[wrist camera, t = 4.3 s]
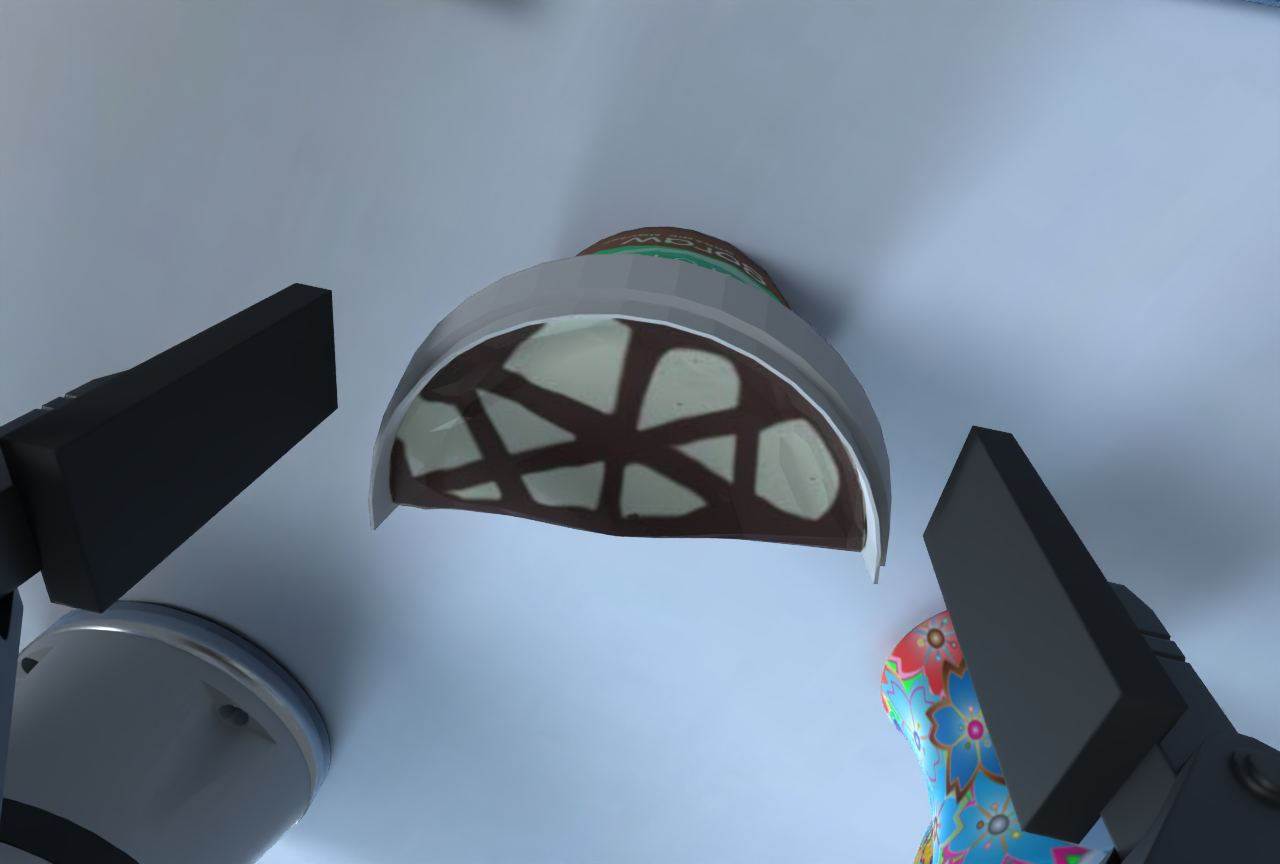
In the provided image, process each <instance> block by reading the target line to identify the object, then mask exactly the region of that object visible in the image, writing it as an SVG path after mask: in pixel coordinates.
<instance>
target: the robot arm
mask: <svg viewBox="0 0 1280 864" xmlns="http://www.w3.org/2000/svg"><path fill="white" fill-rule="evenodd" d="M337 408H338V404H337V384H336V365H335V345H334V326H333V306H332V290H327V289H323V288H318V287H313V286H308V285H304V284H299V283H295V284H293V285H291V286H289V287H287V288H285V289H283V290H281V291H279V292H277V293H275V294H274V295H272V296H270V297H268V298H266V299H264V300H262V301H260V302H258V303H256V304H254V305H252V306H251V307H249V308H247V309H245V310H243V311H241V312H239V313H237V314H235V315H233V316H231V317H229V318H228V319H226V320H224V321H222V322H220V323H218V324H216V325H214V326H212V327H210V328H208V329H206V330H205V331H203V332H201V333H199V334H197V335H195V336H193V337H191V338H189V339H187V340H185V341H183V342H182V343H180V344H178V345H176V346H174V347H172V348H170V349H168V350H166V351H164V352H162V353H160V354H158V355H157V356H155V357H153V358H151V359H149V360H147V361H145V362H143V363H141V364H139V365H137V366H135V367H134V368H132V369H130V370H126V371H123V372H119V373H116V374H112V375H108V376H105V377H101V378H97V379H94V380H92V381H90V382H88V383H86V384H84V385H82V386H80V387H78V388H76V389H74V390H72V391H70V392H68V393H66V394H65V397H64V398H63V397H58V398H56V399H54V400H52V401H50V402H48V403H46V404H44V405H42V409H41V410H40V409H34V410H33V411H31V412H29V413H27V414H25V415H23V416H21V417H19V418H17V419H15V420H13V421H11V422H9V423H7V424H5V425H3V426H1V427H0V864H254V863H256V862H257V861H258V860H259V859H260V858H261V857H262V856H263V855H264V854H265V853H266V852H267V851H268V850H269V849H270V848H271V847H272V846H273V845H274V844H275V843H276V842H277V841H279V840H280V839H281V838H282V837H283V836H284V835H285V834H286V833H287V832H288V831H289V830H290V829H291V828H292V827H293V826H294V825H295V824H296V823H297V822H299V821H300V819H301V818H302V817H303V816H304V814H305V813H306V811H307V809H308V807H309V806H310V804H311V802H312V801H313V799H314V797H315V795H316V794H317V792H318V790H319V788H320V787H321V785H322V783H323V781H324V779H325V778H326V776H327V773H328V770H329V766H330V759H331V750H330V743H329V738H328V734H327V731H326V728H325V726H324V723H323V721H322V718H321V717H320V715H319V713H318V711H317V709H316V708H315V706H314V704H313V703H312V701H311V700H310V698H309V697H308V696H307V694H306V693H305V692H304V691H303V689H302V688H301V687H300V686H299V685H298V684H297V683H296V681H295V680H294V679H293V678H292V677H291V676H290V675H289V674H288V673H287V672H286V671H285V670H284V669H283V668H281V667H280V666H279V665H278V664H277V663H276V662H275V661H273V660H272V659H271V658H270V657H268V656H267V655H266V654H265V653H263V652H262V651H260V650H259V649H258V648H256V647H255V646H253V645H252V644H250V643H249V642H247V641H246V640H244V639H242V638H241V637H239V636H237V635H235V634H234V633H232V632H230V631H228V630H226V629H224V628H222V627H220V626H218V625H216V624H214V623H212V622H209V621H207V620H205V619H202V618H200V617H197V616H195V615H192V614H189V613H186V612H183V611H180V610H176V609H172V608H168V607H164V606H160V605H154V604H149V603H141V602H131V601H117V600H118V599H119V598H120V597H122V596H123V595H124V594H125V593H126V592H127V591H129V590H130V589H131V588H132V587H133V586H134V585H135V584H137V583H138V582H139V581H140V580H141V579H142V578H143V577H145V576H146V575H147V574H148V573H149V572H150V571H151V570H153V569H154V568H155V567H156V566H157V565H158V564H160V563H161V562H162V561H163V560H164V559H165V558H166V557H168V556H169V555H170V554H171V553H172V552H173V551H174V550H176V549H177V548H178V547H179V546H180V545H181V544H182V543H184V542H185V541H186V540H187V539H188V538H189V537H190V536H192V535H193V534H194V533H195V532H196V531H197V530H199V529H200V528H201V527H202V526H203V525H204V524H205V523H207V522H208V521H209V520H210V519H211V518H212V517H213V516H215V515H216V514H217V513H218V512H219V511H220V510H221V509H223V508H224V507H225V506H226V505H227V504H228V503H229V502H231V501H232V500H233V499H234V498H235V497H236V496H238V495H239V494H240V493H241V492H242V491H243V490H244V489H246V488H247V487H248V486H249V485H250V484H251V483H252V482H254V481H255V480H256V479H257V478H258V477H259V476H260V475H262V474H263V473H264V472H265V471H266V470H267V469H268V468H270V467H271V466H272V465H273V464H274V463H275V462H277V461H278V460H279V459H280V458H281V457H282V456H283V455H285V454H286V453H287V452H288V451H289V450H290V449H291V448H293V447H294V446H295V445H296V444H297V443H298V442H299V441H301V440H302V439H303V438H304V437H305V436H306V435H308V434H309V433H310V432H311V431H312V430H313V429H314V428H316V427H317V426H318V425H319V424H320V423H321V422H322V421H324V420H325V419H326V418H327V417H328V416H329V415H330V414H332V413H333V412H334V411H335V410H336V409H337ZM923 538H924V541H925V544H926V547H927V550H928V553H929V556H930V559H931V562H932V565H933V568H934V571H935V574H936V577H937V580H938V583H939V586H940V589H941V592H942V595H943V598H944V601H945V604H946V607H947V610H948V613H949V616H950V619H951V622H952V625H953V628H954V631H955V634H956V637H957V640H958V643H959V646H960V649H961V652H962V655H963V658H964V661H965V664H966V667H967V670H968V673H969V676H970V679H971V682H972V685H973V688H974V691H975V694H976V697H977V700H978V703H979V706H980V709H981V712H982V715H983V718H984V721H985V724H986V727H987V730H988V733H989V736H990V738H991V741H992V744H993V747H994V750H995V753H996V756H997V759H998V762H999V765H1000V768H1001V771H1002V774H1003V777H1004V780H1005V783H1006V786H1007V789H1008V792H1009V795H1010V798H1011V801H1012V804H1013V807H1014V810H1015V813H1016V816H1017V819H1018V822H1019V825H1020V828H1021V831H1023V832H1027V833H1032V834H1036V835H1040V836H1044V837H1049V838H1053V839H1057V840H1061V841H1066V842H1070V843H1074V844H1078V845H1079V844H1080V842H1081V841H1082V840H1083V839H1084V837H1085V836H1086V835H1087V834H1088V832H1089V831H1090V830H1091V829H1092V827H1093V826H1094V825H1095V824H1096V822H1097V821H1098V820H1099V819H1100V817H1101V818H1102V820H1103V822H1104V824H1105V827H1106V829H1107V831H1108V833H1109V836H1110V838H1111V840H1112V842H1113V845H1114V847H1113V848H1112V849H1111V850H1110V851H1109V853H1108V854H1107V855H1106V856H1105V857H1104V858H1103V860H1102V861H1101V862H1100V863H1099V864H1280V752H1279V751H1278V750H1276V749H1274V748H1272V747H1270V746H1268V745H1266V744H1264V743H1262V742H1260V741H1258V740H1257V739H1255V738H1252V737H1248V736H1245V735H1242V734H1238V732H1237V731H1236V730H1235V728H1234V727H1233V725H1232V724H1231V722H1230V721H1229V720H1228V718H1227V717H1226V715H1225V714H1224V712H1223V711H1222V709H1221V708H1220V707H1219V705H1218V704H1217V702H1216V701H1215V699H1214V698H1213V697H1212V695H1211V694H1210V692H1209V691H1208V689H1207V688H1206V686H1205V685H1204V684H1203V682H1202V681H1201V679H1200V678H1199V676H1198V675H1197V673H1196V672H1195V671H1194V669H1193V668H1192V666H1191V665H1190V663H1186V662H1185V656H1184V655H1183V653H1182V652H1181V650H1180V649H1179V648H1178V646H1177V645H1176V643H1175V642H1174V641H1170V637H1171V636H1170V635H1169V633H1168V632H1167V630H1166V629H1165V627H1164V626H1163V625H1162V623H1161V622H1160V620H1159V619H1158V617H1157V616H1156V614H1155V613H1154V612H1153V610H1152V609H1150V608H1149V607H1148V606H1147V605H1146V604H1145V603H1144V602H1143V601H1141V600H1140V599H1139V598H1138V597H1137V596H1136V595H1135V594H1133V593H1132V592H1131V591H1130V590H1129V589H1128V588H1127V587H1125V586H1124V585H1120V584H1116V583H1111V582H1108V581H1107V580H1106V578H1105V577H1104V575H1103V573H1102V572H1101V570H1100V569H1099V567H1098V566H1097V564H1096V563H1095V561H1094V560H1093V558H1092V556H1091V555H1090V553H1089V552H1088V550H1087V549H1086V547H1085V546H1084V544H1083V543H1082V541H1081V540H1080V538H1079V536H1078V535H1077V533H1076V532H1075V530H1074V529H1073V527H1072V526H1071V524H1070V523H1069V521H1068V520H1067V518H1066V516H1065V515H1064V513H1063V512H1062V510H1061V509H1060V507H1059V506H1058V504H1057V503H1056V501H1055V499H1054V498H1053V496H1052V495H1051V493H1050V492H1049V490H1048V489H1047V487H1046V486H1045V484H1044V483H1043V481H1042V479H1041V478H1040V476H1039V475H1038V473H1037V472H1036V470H1035V469H1034V467H1033V466H1032V464H1031V462H1030V461H1029V459H1028V458H1027V456H1026V455H1025V453H1024V452H1023V450H1022V449H1021V447H1020V446H1019V444H1018V442H1017V441H1016V439H1015V438H1014V436H1013V435H1012V434H1011V433H1006V432H1002V431H997V430H992V429H987V428H983V427H978V426H972V428H971V430H970V433H969V435H968V437H967V439H966V441H965V444H964V446H963V448H962V450H961V452H960V455H959V457H958V459H957V461H956V464H955V466H954V468H953V470H952V472H951V475H950V477H949V479H948V481H947V483H946V486H945V488H944V490H943V492H942V494H941V497H940V499H939V501H938V503H937V506H936V508H935V510H934V512H933V514H932V517H931V519H930V521H929V523H928V525H927V528H926V530H925V532H924V534H923ZM40 570H41V573H42V576H43V579H44V582H45V585H46V589H47V592H48V595H49V598H50V601H51V602H52V603H56V604H60V605H65V606H69V607H73V608H77V609H76V610H73V611H71V612H69V613H68V614H66V615H64V616H63V617H61V618H60V619H59V620H58V621H57V622H55V623H54V624H53V625H52V626H51V627H49V628H48V629H47V630H46V631H45V632H43V633H42V634H41V635H40V636H39V637H37V638H36V639H35V640H34V641H33V642H31V643H30V644H29V645H28V646H27V647H26V648H24V649H23V650H22V652H21V653H20V654H19V655H18V653H19V644H20V635H21V626H22V617H23V604H22V600H21V597H20V594H19V591H18V588H17V587H19V586H20V585H21V584H23V583H24V582H25V581H27V580H28V579H30V578H31V577H32V576H34V575H35V574H36V573H38V572H39V571H40Z"/></svg>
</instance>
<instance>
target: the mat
mask: <svg viewBox="0 0 1280 864" xmlns="http://www.w3.org/2000/svg"><path fill="white" fill-rule="evenodd" d="M1245 1H1250V2H1256V3H1261V4H1267V5H1272V6H1278V7H1280V0H1245Z"/></svg>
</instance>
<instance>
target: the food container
mask: <svg viewBox="0 0 1280 864" xmlns="http://www.w3.org/2000/svg"><path fill="white" fill-rule="evenodd" d="M368 502H369V513H370V525H371V530H375V529H376V528H377V527H378V526H379V525H380V524H381V523H382V522H383V521H384V520H385V519H386V518H387V517H388V516H389V515H390V514H391V513H392V511H393V510H394V509H395V508H396V507H397V506H398V505H402V506H412V507H417V508H421V509H456V510H467V511H476V512H484V513H493V514H501V515H509V516H514V517H520V518H526V519H531V520H535V521H540V522H545V523H549V524H554V525H559V526H564V527H568V528H573V529H578V530H584V531H590V532H595V533H601V534H606V535H612V536H621V537H647V538H723V539H742V540H751V541H761V542H771V543H781V544H791V545H801V546H811V547H820V548H829V549H837V550H846V551H855V552H861V554H862V556H863V559H864V561H865V563H866V566H867V568H868V571H869V573H870V576H871V578H872V581H873V583H874V584H878V576H879V568H880V566H885V562H886V554H887V547H888V540H889V530H890V513H891V483H890V466H889V458H888V454H887V450H886V447H885V443H884V439H883V435H882V431H881V427H880V424H879V421H878V419H877V417H876V415H875V413H874V411H873V409H872V406H871V404H870V402H869V400H868V398H867V396H866V394H865V391H864V389H863V387H862V386H861V384H860V383H859V382H858V380H857V379H856V377H855V376H854V375H853V373H852V372H851V370H850V369H849V368H848V366H847V365H846V363H845V362H844V360H843V359H842V358H841V356H840V355H839V353H838V352H837V351H836V350H835V349H834V348H833V347H832V346H831V345H830V344H829V343H828V342H827V341H826V340H825V339H824V338H823V337H822V336H821V335H820V334H819V333H818V332H817V331H816V330H815V329H814V328H813V327H812V326H811V325H809V324H808V323H807V322H806V321H805V320H804V319H802V318H801V317H799V316H798V315H796V314H795V313H794V312H792V310H791V309H790V307H789V306H788V304H787V303H786V301H785V300H784V298H783V297H782V295H781V294H780V292H779V291H778V289H777V288H776V286H775V285H774V283H773V282H772V280H771V279H770V277H769V276H768V274H767V273H766V271H765V270H763V269H762V268H761V267H759V266H758V265H757V264H755V263H754V262H753V261H751V260H750V259H749V258H748V257H746V256H745V255H744V254H742V253H741V252H740V251H738V250H737V249H736V248H734V247H733V246H732V245H730V244H729V243H727V242H725V241H722V240H719V239H716V238H714V237H711V236H708V235H705V234H702V233H700V232H697V231H694V230H689V229H682V228H675V227H645V228H639V229H634V230H629V231H624V232H621V233H618V234H616V235H613V236H610V237H608V238H605V239H602V240H600V241H599V242H597V243H595V244H594V245H592V246H590V247H589V248H587V249H585V250H583V251H582V252H581V253H579V254H578V255H576V256H575V257H573V258H567V259H562V260H556V261H551V262H546V263H542V264H539V265H536V266H534V267H531V268H528V269H525V270H523V271H520V272H517V273H514V274H512V275H509V276H506V277H503V278H502V279H500V280H498V281H496V282H495V283H493V284H491V285H490V286H488V287H486V288H484V289H483V290H481V291H479V292H478V293H476V294H474V295H472V296H471V297H469V298H467V299H466V300H465V301H464V302H463V303H461V304H460V305H459V306H458V307H457V308H456V309H454V310H453V311H452V312H451V313H450V314H449V315H448V316H446V317H445V318H444V319H443V320H442V321H441V322H439V323H438V324H437V326H436V327H435V328H434V329H433V331H432V332H431V333H430V334H429V336H428V337H427V338H426V339H425V341H424V342H423V343H422V344H421V346H420V347H419V348H418V349H417V351H416V352H415V353H414V355H413V357H412V359H411V361H410V363H409V365H408V367H407V369H406V371H405V373H404V375H403V377H402V378H401V380H400V382H399V384H398V386H397V388H396V391H395V393H394V395H393V397H392V399H391V401H390V403H389V405H388V407H387V409H386V411H385V413H384V416H383V419H382V422H381V426H380V429H379V432H378V436H377V439H376V442H375V445H374V450H373V460H372V470H371V480H370V490H369V500H368Z"/></svg>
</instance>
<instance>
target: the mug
mask: <svg viewBox="0 0 1280 864" xmlns="http://www.w3.org/2000/svg"><path fill="white" fill-rule="evenodd" d="M881 695H882V701H883V704H884V708H885V710H886V712H887V714H888V716H889V718H890V719H891V721H892V723H893V724H894V725H895V727H896V728H897V729H898V730H899V731H900V732H901V733H902V734H903V735H904V736H905V738H906V739H907V740H908V742H909V743H910V745H911V747H912V748H913V750H914V752H915V754H916V756H917V758H918V761H919V763H920V766H921V769H922V772H923V775H924V778H925V781H926V785H927V789H928V794H929V799H930V805H931V812H932V821H931V823H930V825H929V826H928V829H927V831H926V833H925V835H924V837H923V839H922V841H921V844H920V846H919V849H918V851H917V854H916V857H915V860H914V863H913V864H1099V863H1100V862H1101V861H1102V860H1103V858H1104V857H1105V856H1106V855H1107V854H1108V853H1109V851H1110V850H1111V849H1112V848H1113V847H1114V845H1113V842H1112V840H1111V838H1110V836H1109V833H1108V831H1107V829H1106V827H1105V824H1104V822H1103V820H1102V818H1101V817H1100V819H1099V820H1098V821H1097V822H1096V824H1095V825H1094V826H1093V827H1092V829H1091V830H1090V831H1089V832H1088V834H1087V835H1086V836H1085V837H1084V839H1083V840H1082V841H1081V842H1080V844H1079V845H1078V844H1074V843H1070V842H1066V841H1061V840H1057V839H1053V838H1049V837H1044V836H1040V835H1036V834H1032V833H1027V832H1023V831H1021V828H1020V825H1019V822H1018V819H1017V816H1016V813H1015V810H1014V807H1013V804H1012V801H1011V798H1010V795H1009V792H1008V789H1007V786H1006V783H1005V780H1004V777H1003V774H1002V771H1001V768H1000V765H999V762H998V759H997V756H996V753H995V750H994V747H993V744H992V741H991V738H990V736H989V733H988V730H987V727H986V724H985V721H984V718H983V715H982V712H981V709H980V706H979V703H978V700H977V697H976V694H975V691H974V688H973V685H972V682H971V679H970V676H969V673H968V670H967V667H966V664H965V661H964V658H963V655H962V652H961V649H960V646H959V643H958V640H957V637H956V634H955V631H954V628H953V625H952V622H951V619H950V616H949V613H948V610H947V611H945V612H942V613H940V614H938V615H936V616H934V617H932V618H930V619H928V620H926V621H925V622H923V623H921V624H920V625H918V626H917V627H916V628H914V629H913V630H912V631H910V632H909V633H908V634H907V635H906V636H905V637H904V638H903V639H902V640H901V641H900V642H899V643H898V645H897V646H896V647H895V648H894V650H893V651H892V653H891V654H890V656H889V658H888V660H887V662H886V664H885V667H884V670H883V674H882V681H881Z"/></svg>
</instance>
